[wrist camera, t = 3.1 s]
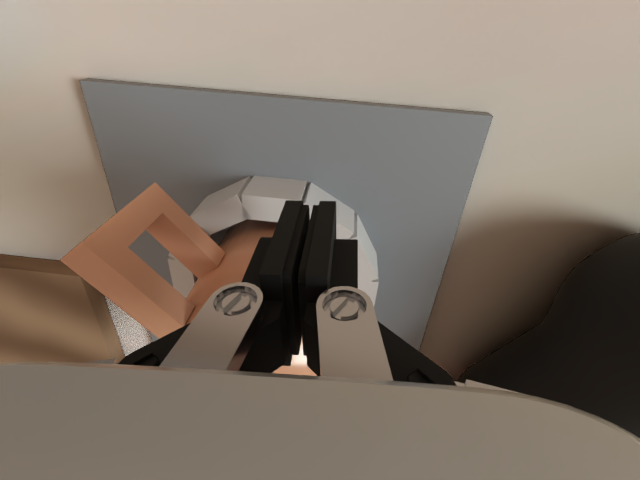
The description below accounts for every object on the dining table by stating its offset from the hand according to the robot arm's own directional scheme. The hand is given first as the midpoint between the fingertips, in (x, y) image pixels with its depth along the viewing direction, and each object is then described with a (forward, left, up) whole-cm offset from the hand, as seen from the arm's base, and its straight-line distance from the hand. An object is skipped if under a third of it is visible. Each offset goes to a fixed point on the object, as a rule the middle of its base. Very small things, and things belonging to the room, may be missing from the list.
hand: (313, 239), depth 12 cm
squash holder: (-6, +2, -6) cm, 9 cm away
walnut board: (-16, +20, -6) cm, 26 cm away
